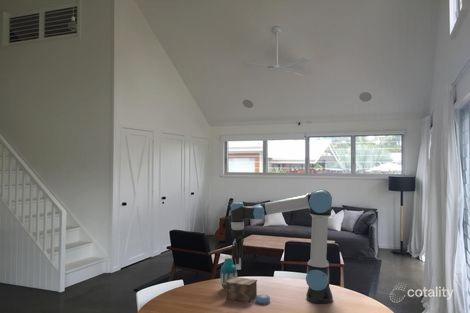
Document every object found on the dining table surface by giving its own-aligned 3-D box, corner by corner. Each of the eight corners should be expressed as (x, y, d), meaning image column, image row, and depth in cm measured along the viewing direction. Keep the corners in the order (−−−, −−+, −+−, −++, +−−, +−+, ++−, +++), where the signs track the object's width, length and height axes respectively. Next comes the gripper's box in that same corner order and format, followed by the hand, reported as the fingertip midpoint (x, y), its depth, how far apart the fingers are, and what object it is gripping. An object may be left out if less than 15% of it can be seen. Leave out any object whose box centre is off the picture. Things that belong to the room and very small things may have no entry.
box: (256, 296, 219) (256, 281, 220) (249, 302, 209) (249, 286, 210) (234, 293, 226) (234, 278, 226) (226, 298, 216) (226, 283, 216)
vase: (224, 292, 227) (223, 261, 227) (218, 287, 236) (218, 258, 237) (239, 290, 230) (239, 260, 231) (233, 285, 240) (233, 256, 241)
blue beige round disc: (271, 300, 212) (271, 295, 212) (266, 305, 205) (266, 299, 205) (259, 298, 216) (258, 293, 216) (253, 303, 209) (253, 298, 209)
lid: (257, 283, 219) (257, 279, 219) (248, 289, 208) (248, 285, 208) (233, 280, 226) (233, 276, 226) (224, 286, 215) (224, 281, 215)
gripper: (236, 226, 222) (237, 265, 221) (227, 230, 210) (227, 271, 209) (247, 227, 219) (248, 267, 218) (239, 230, 207) (239, 272, 206)
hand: (238, 269), depth 214 cm, fingers closed
